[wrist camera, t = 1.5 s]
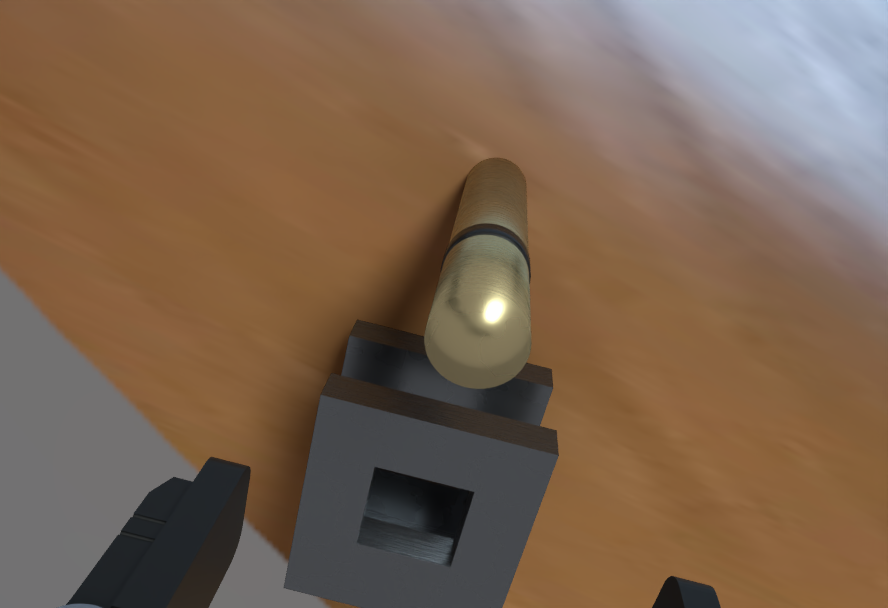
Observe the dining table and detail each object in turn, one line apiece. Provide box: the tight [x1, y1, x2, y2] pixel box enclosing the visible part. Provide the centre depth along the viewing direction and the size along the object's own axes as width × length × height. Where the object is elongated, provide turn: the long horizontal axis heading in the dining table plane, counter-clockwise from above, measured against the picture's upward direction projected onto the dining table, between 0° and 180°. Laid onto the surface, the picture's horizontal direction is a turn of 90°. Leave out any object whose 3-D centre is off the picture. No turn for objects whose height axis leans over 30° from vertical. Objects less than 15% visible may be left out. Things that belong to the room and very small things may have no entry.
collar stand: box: [284, 320, 559, 608], centre depth 40 cm, size 12×11×10 cm
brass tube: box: [424, 158, 531, 389], centre depth 30 cm, size 3×3×18 cm
